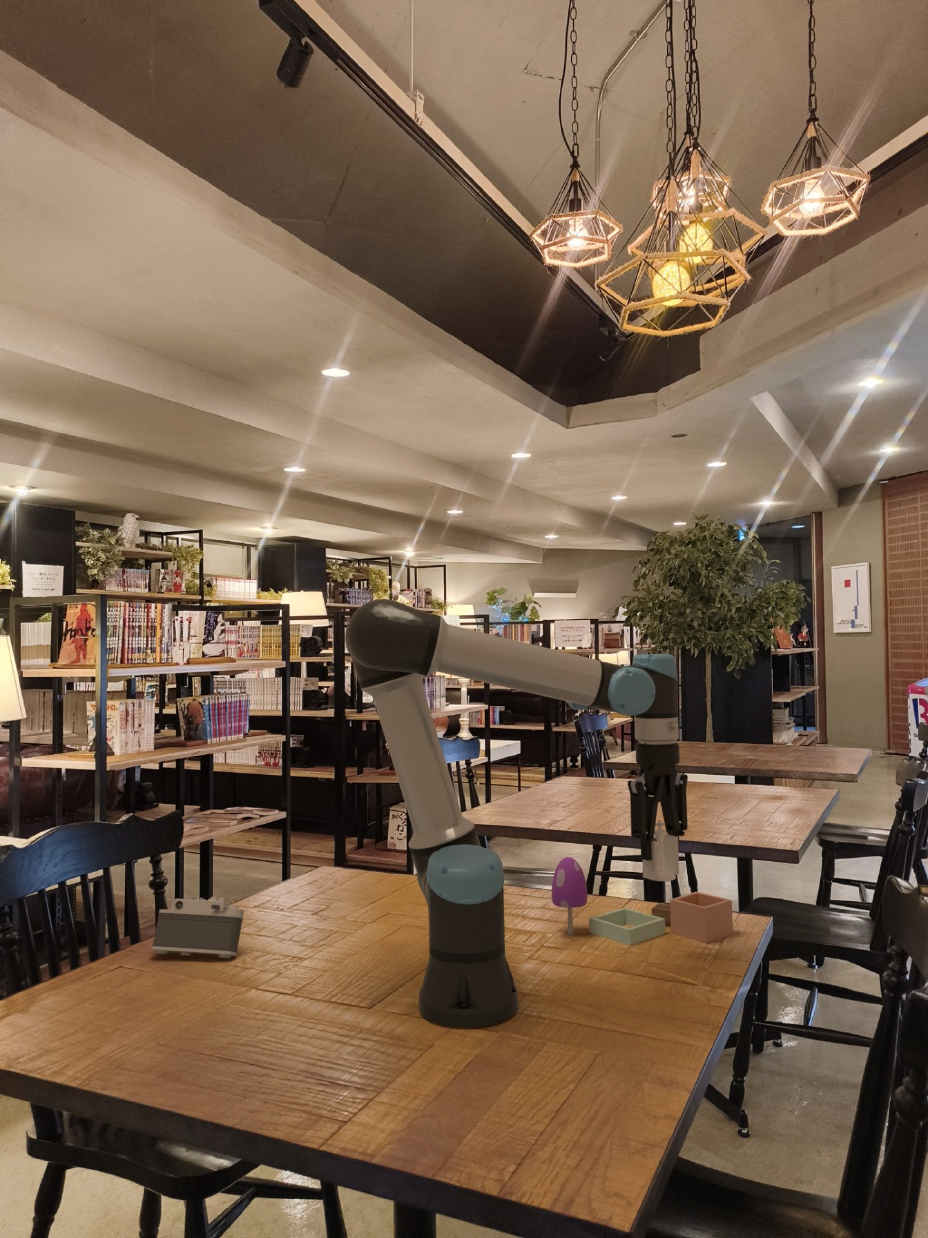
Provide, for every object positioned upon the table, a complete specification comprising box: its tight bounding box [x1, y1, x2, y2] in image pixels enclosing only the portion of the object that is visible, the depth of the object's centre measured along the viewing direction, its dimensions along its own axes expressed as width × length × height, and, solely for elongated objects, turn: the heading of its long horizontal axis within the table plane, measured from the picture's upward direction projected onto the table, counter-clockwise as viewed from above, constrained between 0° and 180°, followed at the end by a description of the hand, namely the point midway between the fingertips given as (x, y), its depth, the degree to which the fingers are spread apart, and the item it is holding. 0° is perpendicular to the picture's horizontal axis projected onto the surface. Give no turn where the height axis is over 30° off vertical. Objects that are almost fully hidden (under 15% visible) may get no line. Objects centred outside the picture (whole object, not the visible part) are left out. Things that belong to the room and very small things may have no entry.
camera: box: [150, 896, 245, 959], centre depth 163 cm, size 9×16×10 cm, turn 83°
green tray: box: [588, 907, 667, 946], centre depth 165 cm, size 10×10×4 cm
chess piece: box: [650, 819, 677, 882], centre depth 152 cm, size 5×5×10 cm
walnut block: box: [651, 902, 671, 928], centre depth 170 cm, size 4×4×4 cm
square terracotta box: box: [669, 891, 734, 945], centre depth 163 cm, size 8×8×7 cm
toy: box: [551, 856, 588, 939], centre depth 165 cm, size 7×7×15 cm
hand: (661, 875), depth 152 cm, fingers closed on chess piece, 5 cm apart
